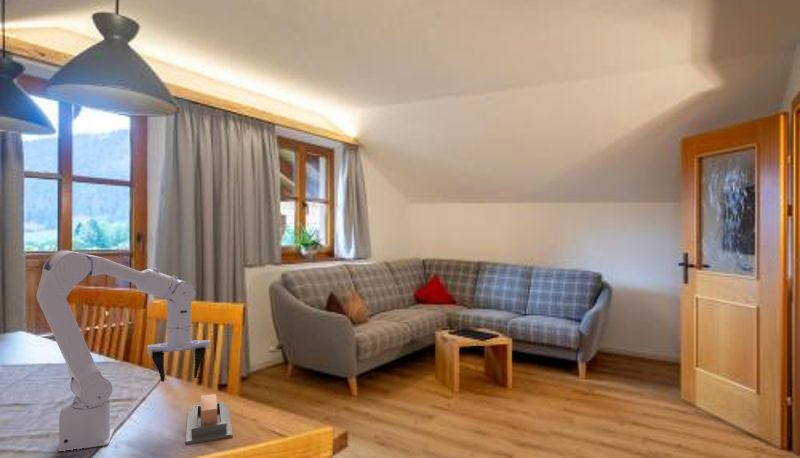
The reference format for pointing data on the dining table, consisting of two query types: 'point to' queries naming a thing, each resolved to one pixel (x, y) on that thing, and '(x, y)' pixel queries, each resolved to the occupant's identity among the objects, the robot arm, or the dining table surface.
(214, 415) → the terracotta bar
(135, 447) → the dining table surface
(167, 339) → the robot arm
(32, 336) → the dining table surface
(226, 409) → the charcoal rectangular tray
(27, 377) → the dining table surface
